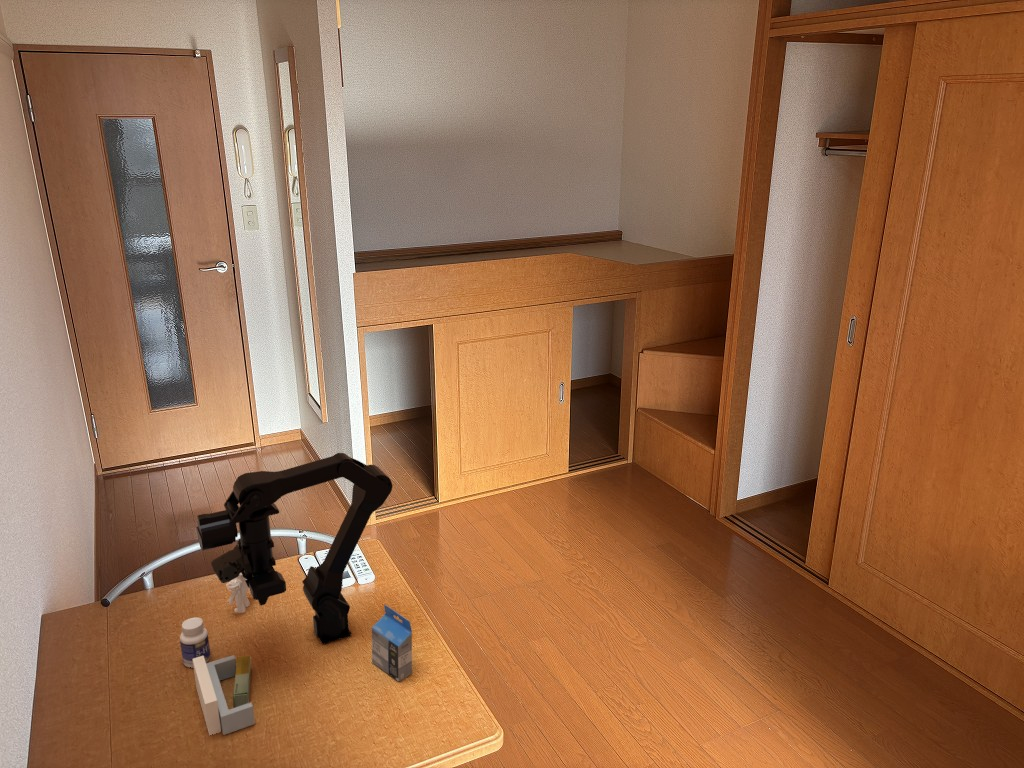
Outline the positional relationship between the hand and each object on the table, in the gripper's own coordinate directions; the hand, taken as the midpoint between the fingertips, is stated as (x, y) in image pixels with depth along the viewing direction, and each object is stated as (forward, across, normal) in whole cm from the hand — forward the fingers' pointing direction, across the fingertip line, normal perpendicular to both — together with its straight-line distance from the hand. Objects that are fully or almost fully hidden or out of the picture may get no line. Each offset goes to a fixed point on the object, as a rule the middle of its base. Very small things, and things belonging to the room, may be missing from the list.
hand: (262, 604), depth 153 cm
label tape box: (+12, +17, +21) cm, 30 cm away
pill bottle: (+12, -5, -13) cm, 19 cm away
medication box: (+12, +9, -7) cm, 17 cm away
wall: (+12, +11, -14) cm, 21 cm away
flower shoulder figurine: (+12, -19, -1) cm, 23 cm away
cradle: (+12, +11, -9) cm, 18 cm away
